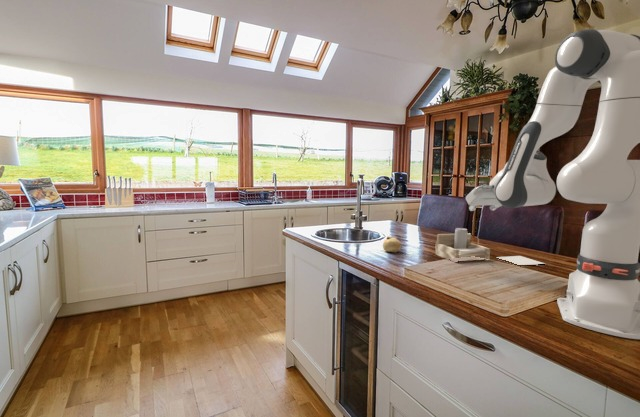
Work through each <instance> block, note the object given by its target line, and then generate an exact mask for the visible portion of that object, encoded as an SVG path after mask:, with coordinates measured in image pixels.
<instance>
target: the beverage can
mask: <svg viewBox="0 0 640 417" xmlns="http://www.w3.org/2000/svg"><path fill="white" fill-rule="evenodd" d="M467 233H468V229H467V228H463V227H455V230H454V234H455V241H454V249H464V248H466V244H467Z"/></svg>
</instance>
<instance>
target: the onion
mask: <svg viewBox="0 0 640 417" xmlns="http://www.w3.org/2000/svg"><path fill="white" fill-rule="evenodd" d="M382 248H383V250H384V251H385V252H386V253H395V254H396V253H398V252H399V251H401V249H402V244H401V242H400V240H399V239H398V238H395V237H392V236H386V238H385V239H384V241H383V243H382Z"/></svg>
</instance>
